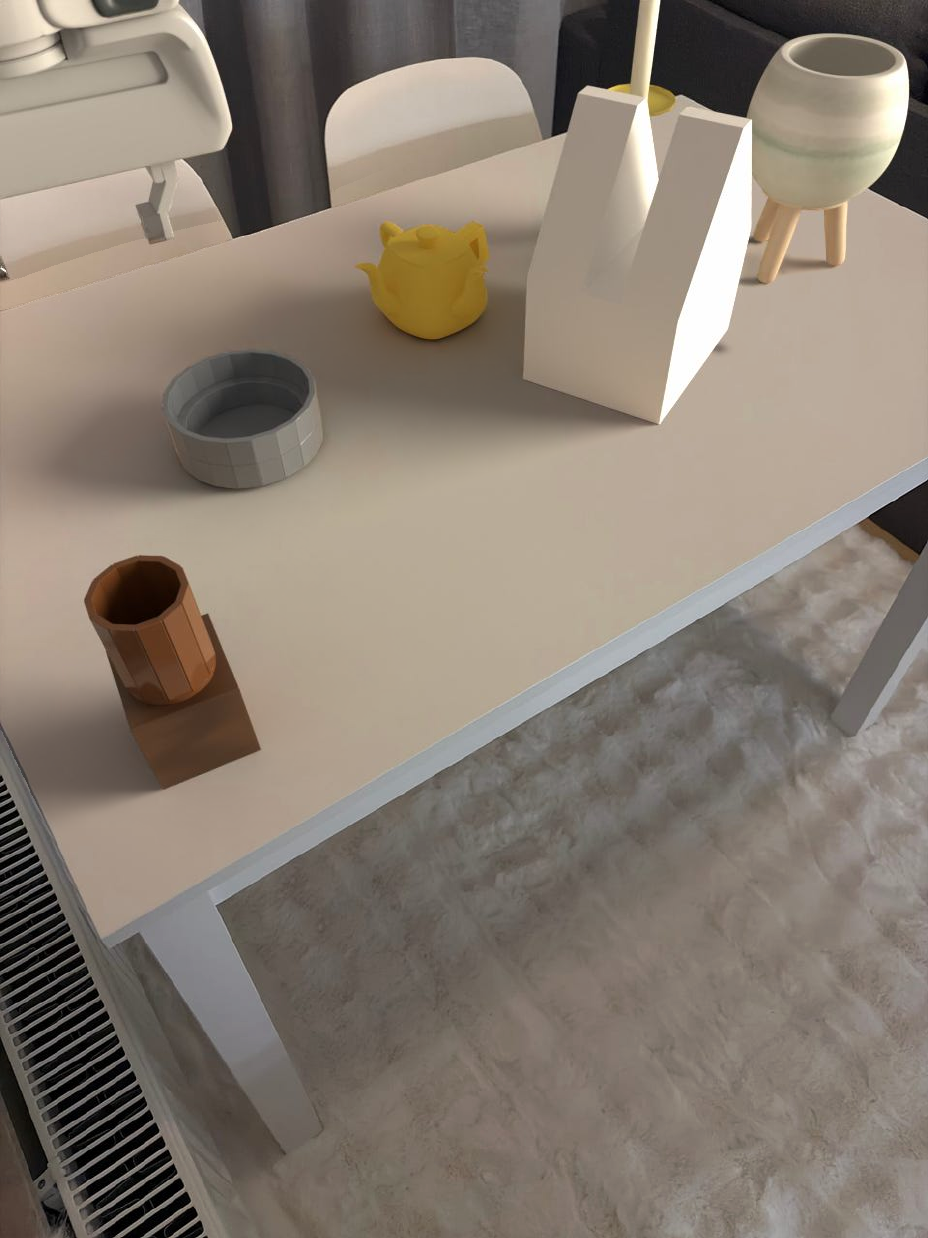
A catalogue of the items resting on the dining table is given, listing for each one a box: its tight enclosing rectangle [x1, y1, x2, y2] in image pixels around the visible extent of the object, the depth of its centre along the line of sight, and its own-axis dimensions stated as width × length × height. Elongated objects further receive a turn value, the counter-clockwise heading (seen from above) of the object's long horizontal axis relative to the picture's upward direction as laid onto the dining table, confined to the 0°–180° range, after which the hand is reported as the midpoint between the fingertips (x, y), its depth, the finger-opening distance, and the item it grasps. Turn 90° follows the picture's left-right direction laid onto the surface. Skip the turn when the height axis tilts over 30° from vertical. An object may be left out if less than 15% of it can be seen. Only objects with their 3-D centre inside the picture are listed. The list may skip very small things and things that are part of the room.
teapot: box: [354, 220, 491, 340], centre depth 100 cm, size 14×13×10 cm
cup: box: [83, 554, 216, 705], centre depth 60 cm, size 6×6×8 cm
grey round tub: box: [161, 348, 324, 490], centre depth 88 cm, size 14×14×6 cm
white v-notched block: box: [522, 85, 752, 425], centre depth 89 cm, size 19×15×25 cm
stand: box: [105, 613, 262, 790], centre depth 66 cm, size 7×7×8 cm
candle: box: [607, 0, 677, 118], centre depth 103 cm, size 10×10×32 cm
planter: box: [745, 33, 910, 284], centre depth 101 cm, size 16×16×22 cm
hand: (79, 257), depth 53 cm, fingers open, 8 cm apart
